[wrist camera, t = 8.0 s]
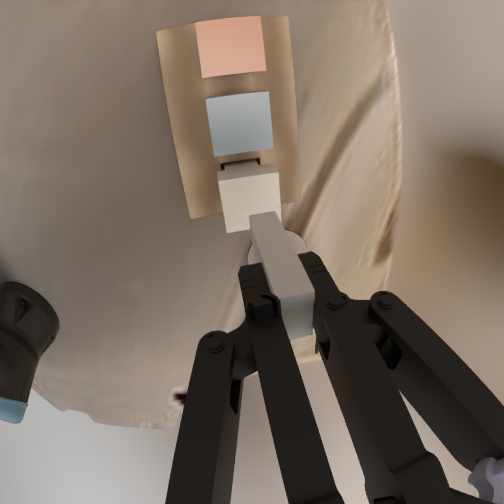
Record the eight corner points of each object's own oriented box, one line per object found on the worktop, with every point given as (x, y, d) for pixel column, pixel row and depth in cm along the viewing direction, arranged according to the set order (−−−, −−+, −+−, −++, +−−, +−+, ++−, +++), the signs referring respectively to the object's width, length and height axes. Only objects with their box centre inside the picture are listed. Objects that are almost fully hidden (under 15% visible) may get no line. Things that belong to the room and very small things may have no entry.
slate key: (212, 139, 27) (214, 157, 21) (205, 95, 24) (205, 99, 18) (258, 133, 27) (273, 148, 21) (253, 89, 24) (268, 91, 18)
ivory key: (221, 199, 29) (227, 233, 24) (215, 157, 27) (218, 181, 21) (265, 192, 30) (281, 224, 24) (261, 150, 27) (278, 172, 21)
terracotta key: (203, 79, 23) (202, 78, 17) (197, 36, 20) (195, 22, 14) (252, 73, 23) (266, 70, 17) (247, 31, 20) (260, 15, 15)
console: (192, 199, 33) (190, 218, 29) (163, 39, 21) (156, 31, 17) (288, 184, 34) (300, 200, 30) (275, 25, 22) (287, 16, 18)
